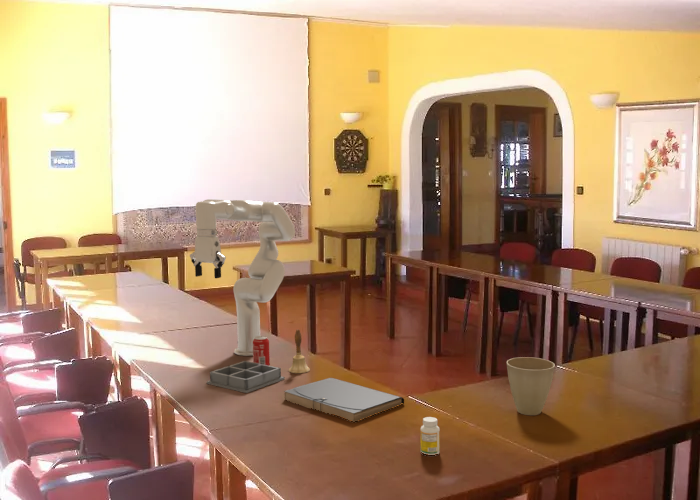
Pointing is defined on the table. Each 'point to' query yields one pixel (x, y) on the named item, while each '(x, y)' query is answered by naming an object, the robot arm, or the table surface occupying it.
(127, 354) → the table surface
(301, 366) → the hand bell
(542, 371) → the plant pot
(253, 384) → the drink carrier
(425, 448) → the supplement bottle
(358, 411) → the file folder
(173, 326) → the table surface
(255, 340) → the beverage can
